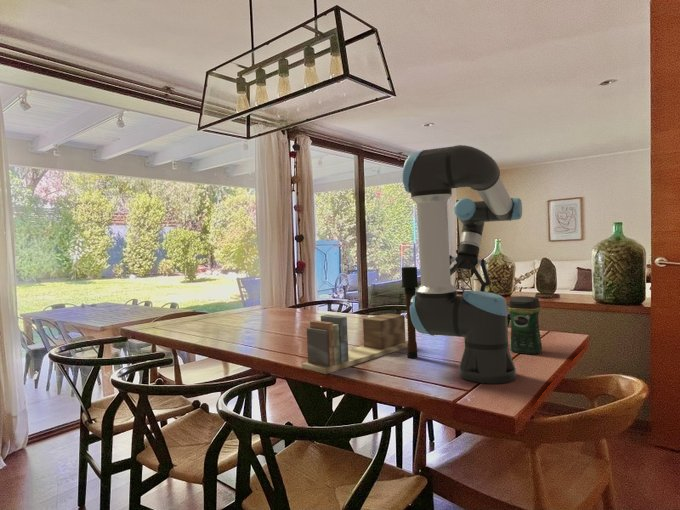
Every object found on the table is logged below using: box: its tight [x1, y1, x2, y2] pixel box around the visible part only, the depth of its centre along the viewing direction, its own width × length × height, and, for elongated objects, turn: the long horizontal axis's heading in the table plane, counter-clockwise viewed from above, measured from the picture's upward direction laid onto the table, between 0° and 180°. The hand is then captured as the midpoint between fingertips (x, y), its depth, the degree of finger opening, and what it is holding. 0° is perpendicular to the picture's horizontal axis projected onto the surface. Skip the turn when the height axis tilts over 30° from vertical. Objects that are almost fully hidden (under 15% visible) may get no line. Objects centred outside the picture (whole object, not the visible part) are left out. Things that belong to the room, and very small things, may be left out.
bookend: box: [362, 312, 407, 350], centre depth 161 cm, size 14×8×10 cm, turn 135°
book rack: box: [301, 314, 408, 375], centre depth 152 cm, size 44×11×16 cm, turn 135°
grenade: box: [400, 266, 419, 359], centre depth 147 cm, size 6×6×30 cm
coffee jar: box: [508, 295, 543, 355], centre depth 148 cm, size 10×8×19 cm
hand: (459, 300), depth 164 cm, fingers open, 13 cm apart
